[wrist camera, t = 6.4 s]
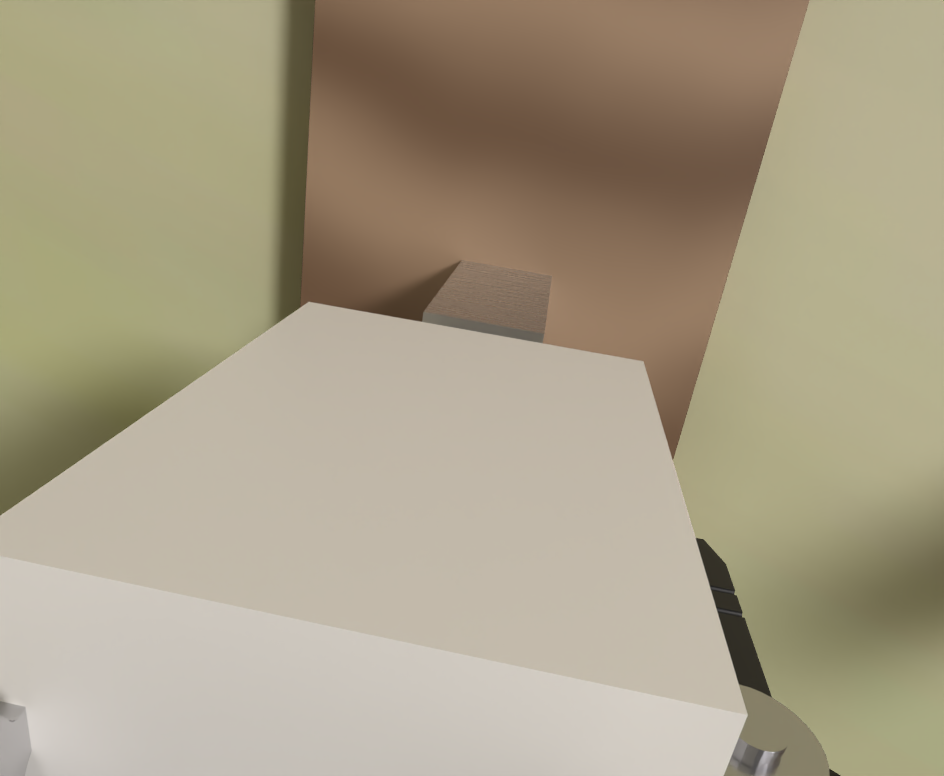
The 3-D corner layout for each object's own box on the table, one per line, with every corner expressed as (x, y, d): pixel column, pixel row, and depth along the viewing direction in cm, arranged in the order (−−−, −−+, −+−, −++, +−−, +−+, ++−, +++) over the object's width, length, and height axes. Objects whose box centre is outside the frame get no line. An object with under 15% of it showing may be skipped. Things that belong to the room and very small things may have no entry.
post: (462, 259, 20) (423, 311, 15) (551, 275, 19) (544, 334, 14) (450, 345, 21) (410, 421, 16) (535, 360, 20) (523, 442, 15)
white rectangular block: (308, 301, 11) (-44, 546, 5) (643, 361, 10) (746, 714, 4) (294, 573, 13) (36, 998, 7) (574, 631, 12) (578, 1141, 6)
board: (362, -486, 15) (341, -545, 14) (918, -432, 14) (954, -489, 13) (309, 432, 24) (293, 451, 23) (649, 499, 23) (654, 523, 22)
